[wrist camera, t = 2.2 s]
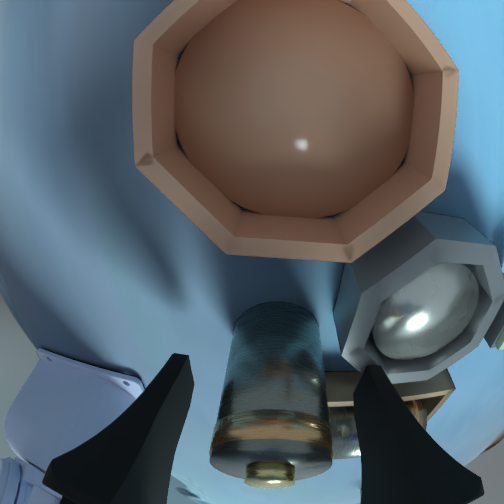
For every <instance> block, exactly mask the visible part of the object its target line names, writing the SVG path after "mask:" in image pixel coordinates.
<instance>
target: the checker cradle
mask: <svg viewBox="0 0 504 504" xmlns="http://www.w3.org/2000/svg"><path fill="white" fill-rule="evenodd" d="M436 262H447V263H461V264H465V265H466V266H467V267H468V268H469V270H470V271H471V272H472V273H473V274H474V276H475V277H476V280H477V282H478V287H479V296H478V302H477V306H476V309H475V311H474V314H473V316H472V318H471V319H470V321H469V323H468V324H467V325H466V327H465V328H464V329H463V331H462V332H461V333H460V334H459V335H458V336H457V337H456V338H455V339H454V340H452V341H451V342H450V343H449V344H447V345H446V346H445V347H443V348H441V349H440V350H438V351H436V352H434V353H432V354H430V355H427V356H424V357H421V358H417V359H411V360H398V359H393V358H390V357H388V356H386V355H384V354H383V353H382V352H381V351H380V350H379V349H378V348H377V346H376V344H375V341H374V338H373V335H372V332H371V329H372V326H373V324H374V321H375V318H376V316H377V313H378V310H379V307H380V304H381V302H382V301H383V300H385V299H386V298H388V297H389V296H391V295H392V294H394V293H395V292H397V291H398V290H399V289H401V288H402V287H404V286H405V285H406V284H408V283H409V282H411V281H412V280H413V279H415V278H416V277H417V276H419V275H420V274H421V273H423V272H424V271H425V270H427V269H428V268H429V267H431V266H432V265H433V264H435V263H436ZM333 316H334V321H335V326H336V331H337V336H338V341H339V346H340V351H341V356H342V357H343V358H345V359H346V360H347V361H348V362H349V363H350V364H351V365H352V366H353V367H354V368H356V369H357V370H358V371H359V372H360V373H361V374H362V375H363V373H364V371H365V368H366V366H373V365H380V366H381V367H382V368H383V370H384V372H385V373H386V375H387V376H388V378H389V380H390V381H391V383H392V384H396V383H406V382H415V381H423V380H428V379H430V378H432V377H433V376H435V375H437V374H438V373H440V372H441V371H443V370H445V369H446V368H448V367H449V366H451V365H452V364H454V363H455V362H457V361H458V360H460V359H461V358H462V357H464V356H465V355H467V354H468V353H469V352H471V351H472V350H474V349H475V348H476V347H478V346H479V344H480V342H481V341H482V339H483V337H484V338H485V340H486V342H487V343H488V345H489V347H490V348H494V347H497V349H498V350H503V349H504V273H503V272H502V269H501V265H500V260H499V256H498V252H497V249H496V246H495V245H494V244H493V243H492V242H491V241H490V240H489V239H487V238H486V237H485V236H484V235H483V234H482V233H480V232H479V231H478V230H477V229H476V228H474V227H473V226H472V225H471V224H470V223H468V222H467V221H466V220H465V219H463V218H458V217H452V216H446V215H439V214H433V213H426V212H418V213H417V214H415V215H414V216H413V217H412V218H410V219H409V220H408V221H407V222H405V223H404V224H403V225H401V226H400V227H399V228H398V229H396V230H395V231H394V232H392V233H391V234H390V235H388V236H387V237H386V238H384V239H383V240H382V241H380V242H379V243H378V244H376V245H375V246H374V247H372V248H371V249H370V250H368V251H367V252H365V253H364V254H363V255H361V256H360V257H359V258H357V259H356V260H354V261H353V262H352V263H347V262H345V266H344V270H343V275H342V279H341V284H340V288H339V292H338V296H337V300H336V304H335V308H334V312H333Z"/></svg>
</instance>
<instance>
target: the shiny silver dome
mask: <svg viewBox="0 0 504 504" xmlns="http://www.w3.org/2000/svg"><path fill="white" fill-rule="evenodd" d="M478 296H479V287H478V282H477V280H476V277H475V276H474V274H473V273H472V272H471V271H470V270H469V268H468V267H467V266H466V265H465V264H461V263H447V262H436V263H435V264H433V265H432V266H431V267H429V268H428V269H427V270H425V271H424V272H423V273H421V274H420V275H419V276H417V277H416V278H415V279H413V280H412V281H411V282H409V283H408V284H406V285H405V286H404V287H402V288H401V289H399V290H398V291H397V292H395V293H394V294H392V295H391V296H389V297H388V298H386V299H385V300H383V301H382V302H381V304H380V307H379V310H378V313H377V316H376V318H375V321H374V324H373V326H372V329H371V332H372V335H373V338H374V341H375V344H376V346H377V348H378V349H379V350H380V351H381V352H382V353H383V354H384V355H386V356H388V357H390V358H393V359H398V360H411V359H417V358H421V357H424V356H427V355H430V354H432V353H434V352H436V351H438V350H440V349H441V348H443V347H445V346H446V345H447V344H449V343H450V342H451V341H452V340H454V339H455V338H456V337H457V336H458V335H459V334H460V333H461V332H462V331H463V329H464V328H465V327H466V325H467V324H468V323H469V321H470V319H471V318H472V316H473V314H474V311H475V309H476V306H477V302H478Z"/></svg>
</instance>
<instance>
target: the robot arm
mask: <svg viewBox="0 0 504 504" xmlns="http://www.w3.org/2000/svg"><path fill="white" fill-rule="evenodd" d="M36 353H37V355H38V357H39V358H40V360H39V362H38V363H37V365H36V366H35V368H34V369H33V371H32V372H31V374H30V375H29V377H28V379H27V380H26V382H25V383H24V385H23V386H22V388H21V390H20V391H19V393H18V394H17V396H16V398H15V399H14V401H13V403H12V405H11V406H10V408H9V410H8V412H7V415H6V420H5V436H6V439H7V442H8V444H9V446H10V448H11V449H12V450H13V452H14V453H15V454H16V455H18V456H19V457H20V458H21V459H23V460H24V461H23V460H21V459H20V458H17V457H15V460H14V459H13V458H11V457H8V458H3V459H0V504H166V503H167V495H168V488H169V482H170V476H171V470H172V465H173V460H174V455H175V451H176V447H177V444H178V441H179V438H180V435H181V432H182V429H183V426H184V423H185V420H186V417H187V413H188V410H189V407H190V403H191V398H192V393H193V388H194V380H193V376H192V371H191V366H190V360H189V355H183V354H177V353H174V354H172V355H171V357H170V358H169V360H168V361H167V362H166V364H165V365H164V366H163V368H162V369H161V370H160V372H159V373H158V374H157V375H156V377H155V378H154V379H153V380H152V382H151V383H150V384H149V385H148V386H147V388H146V389H144V387H143V385H142V382H141V381H140V380H139V379H138V378H136V377H133V376H129V375H125V374H121V373H117V372H113V371H109V370H106V369H102V368H98V367H95V366H91V365H88V364H85V363H82V362H78V361H75V360H72V359H69V358H66V357H63V356H60V355H57V354H55V353H52V352H49V351H46V350H44V349H41V348H39V349H38V350H37V351H36ZM353 403H354V417H355V423H356V429H357V435H358V441H359V448H360V454H361V464H362V489H361V504H468V503H470V502H472V501H473V500H475V499H477V498H479V497H481V496H483V495H484V489H483V484H482V480H481V477H479V476H477V475H476V474H474V473H473V472H471V471H470V470H468V469H466V468H465V467H464V466H462V465H461V464H460V463H458V462H457V461H456V460H455V459H453V458H452V457H451V456H450V455H449V454H448V453H447V452H446V451H445V450H443V449H442V448H441V447H440V446H439V445H438V444H437V443H436V442H435V441H434V440H433V439H432V437H431V436H430V435H429V434H428V433H427V432H426V431H425V429H424V428H423V427H422V426H421V425H420V423H419V422H418V421H417V419H416V418H415V417H414V415H413V414H412V413H411V411H410V410H409V408H408V407H407V405H406V404H405V403H404V401H403V400H402V398H401V397H400V395H399V394H398V392H397V391H396V389H395V387H394V386H393V384H392V383H391V381H390V380H389V378H388V376H387V375H386V373H385V372H384V370H383V368H382V367H381V366H380V365H373V366H366V368H365V371H364V373H363V375H362V377H361V379H360V381H359V383H358V385H357V387H356V389H355V391H354V392H353ZM25 461H26V462H25Z"/></svg>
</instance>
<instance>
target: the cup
mask: <svg viewBox="0 0 504 504" xmlns="http://www.w3.org/2000/svg"><path fill="white" fill-rule="evenodd" d="M343 2H344V3H343ZM345 3H349V4H350V5H351V6H352V7H351V6H349V5H347V4H345ZM182 51H184V52H183V54H182V56H181V58H180V61H179V64H178V55H179V54H180V53H181V52H182ZM408 71H409V72H408ZM409 73H410V74H411V76H412V77H411V78H410V75H409ZM458 82H459V70H458V68H457V67H456V65H455V64H454V62H453V61H452V59H451V57H450V56H449V54H448V53H447V52H446V50H445V49H444V47H443V46H442V44H441V43H440V42H439V40H438V39H437V37H436V36H435V35H434V33H433V32H432V31H431V29H430V28H429V27H428V26H427V24H426V23H425V22H424V21H423V19H422V18H421V17H420V16H419V15H418V13H417V12H416V11H415V10H414V9H413V8H412V6H411V5H410V4H409V3H408V2H407V1H406V0H174V1H172V2H171V3H170V4H169V5H168V6H167V7H166V8H165V9H164V10H163V11H162V12H161V13H160V14H159V15H158V16H157V17H156V18H155V19H154V20H153V21H152V22H151V23H150V24H149V25H148V26H147V27H146V28H145V29H144V30H143V31H142V32H141V33H140V34H139V35H138V36H137V38H136V39H135V40H134V46H133V69H132V118H133V143H134V159H135V167H136V168H137V169H138V170H139V171H140V172H141V173H142V174H143V175H144V176H145V177H146V178H147V179H148V180H149V181H150V182H151V183H153V184H154V185H155V186H156V187H157V188H158V189H159V190H160V191H161V192H162V193H163V194H164V195H165V196H166V197H167V198H168V199H169V200H170V201H171V202H172V203H173V204H174V205H175V206H176V207H177V208H178V209H179V210H180V211H181V212H182V213H183V214H184V215H186V216H187V217H188V218H189V219H190V220H191V221H192V222H193V223H194V224H195V225H196V226H197V227H198V228H199V229H200V230H201V231H202V232H203V233H204V234H205V235H206V236H207V237H209V238H210V239H211V240H212V241H213V242H214V243H215V244H216V245H217V246H218V247H219V248H220V249H221V250H222V251H223V252H224V253H225V254H227V255H241V256H256V257H271V258H286V259H301V260H316V261H332V262H347V263H352V262H353V261H354V260H356V259H357V258H359V257H360V256H361V255H363V254H364V253H365V252H367V251H368V250H370V249H371V248H372V247H374V246H375V245H376V244H378V243H379V242H380V241H382V240H383V239H384V238H386V237H387V236H388V235H390V234H391V233H392V232H394V231H395V230H396V229H398V228H399V227H400V226H401V225H403V224H404V223H405V222H407V221H408V220H409V219H410V218H412V217H413V216H414V215H415V214H417V213H418V212H419V211H420V210H422V209H423V208H424V207H425V206H427V205H428V204H429V203H430V202H432V201H433V200H434V199H435V198H436V197H438V196H439V195H440V194H441V193H442V192H444V191H445V189H446V184H447V179H448V174H449V169H450V163H451V157H452V150H453V143H454V135H455V126H456V116H457V103H458ZM178 138H179V141H180V144H181V146H182V148H183V150H184V151H183V150H182V149H180V148H179V147H178ZM403 158H404V162H403V164H402V165H401V166H399V165H400V164H401V162H402V160H403ZM237 204H238V205H240V206H242V207H244V208H246V209H249V210H251V211H243V210H242V209H241V208H240V207H239V206H238V205H237ZM340 212H341V213H340ZM337 213H339V214H338V215H337V216H335V217H327V216H330V215H334V214H337Z"/></svg>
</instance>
